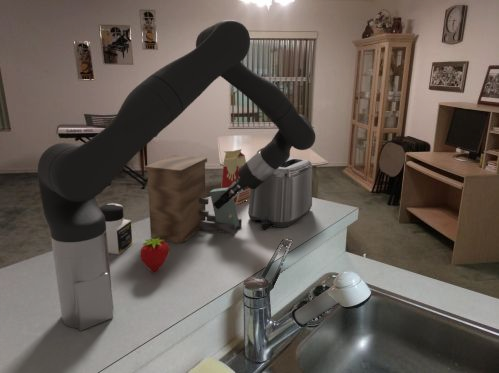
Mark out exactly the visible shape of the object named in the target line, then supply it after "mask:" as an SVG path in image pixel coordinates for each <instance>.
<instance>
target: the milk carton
mask: <svg viewBox="0 0 499 373" xmlns="http://www.w3.org/2000/svg"><path fill="white" fill-rule="evenodd" d="M223 152H224V153H225V154H224V158H223V166H222V175H221V176H222V177H221V184H220V185H221V187H220V188H229V187H230V186H231V185H232V183H233V182H234V181H235V180H237V179H238V178H239V176H238V170H239V169H240V168H241V167H242V166H243V165H244V164H245V163H246V162H247V161H246V160H247V159H246V155H245V154H244V153H242V148H241V149H236V150H225V151H223ZM249 199H250V188H247V189H245V190H244V191H243V192H242V193H240V194H238V195H237V196H236V197H235V198H234V202H235V204H236V205H235V206H238V205H240V203H241V204H243V203H245V202H244V201H246V200H248V201H249ZM242 202H243V203H242ZM246 202H247V201H246ZM237 204H238V205H237Z"/></svg>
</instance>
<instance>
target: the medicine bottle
mask: <svg viewBox="0 0 499 373" xmlns="http://www.w3.org/2000/svg"><path fill="white" fill-rule="evenodd" d="M99 208H100V210H101V211H102V212H103V214H104V216H105V221H106V233H107V245H108V254H110V255H111V254H112V255H121V254H122V253H123V252H124V251H125V250H126V249H128V248H129V247H130V246H132V244H133V234H132V231H133V230H132V220H131V219H125V217H124V207H123V205H122V204H118V203H107V204H104V205H101V206H99Z"/></svg>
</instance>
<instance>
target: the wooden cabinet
mask: <svg viewBox="0 0 499 373" xmlns="http://www.w3.org/2000/svg"><path fill="white" fill-rule="evenodd" d="M206 163H208V158H207V157H202V156H201V157H200V156H189V155H187V156H186V155H179V154H174V155H171V156H169V157H166V158H164V159H163V158H162V159H161V160H158V161H156V162H153V163H150V164H148V165H145V166H144V171H145V172H146V173H147V188H148V191H147V192H148V193H147V194H148V206H149V207H148V209H149V227H150V228H149V230H150V239H151V238H153V239H157V238H159V237H160V238H159V239H158V240H164V242H165V241H167V242H173V243H176V244H177V243H179V244H183V243H184V242H186V241H187V240H188V239H189V238H191V237H192V235H194V234H195V233H196V232H197V231H198V230H206V231H213V232H219V233H226V234H233V235H235V234H236V232H237V230H236V229H237V228H242V223H243V219H242V218H240V217H238V221H239V225H238V226H237V227H236V225H232V224H225V223H218V222H216V218H215V214H212V213H211V214H209V210H206V205H208V204H209V198H207V197H206Z"/></svg>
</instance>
